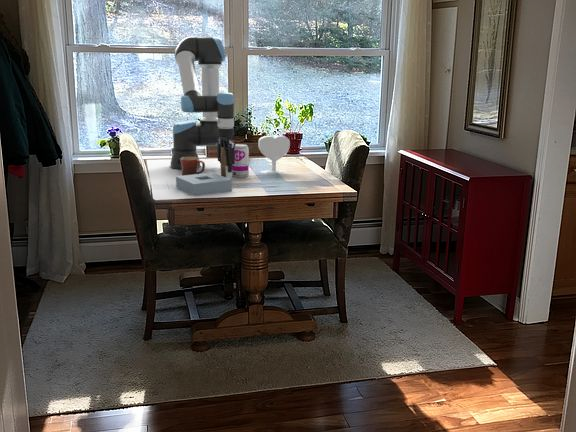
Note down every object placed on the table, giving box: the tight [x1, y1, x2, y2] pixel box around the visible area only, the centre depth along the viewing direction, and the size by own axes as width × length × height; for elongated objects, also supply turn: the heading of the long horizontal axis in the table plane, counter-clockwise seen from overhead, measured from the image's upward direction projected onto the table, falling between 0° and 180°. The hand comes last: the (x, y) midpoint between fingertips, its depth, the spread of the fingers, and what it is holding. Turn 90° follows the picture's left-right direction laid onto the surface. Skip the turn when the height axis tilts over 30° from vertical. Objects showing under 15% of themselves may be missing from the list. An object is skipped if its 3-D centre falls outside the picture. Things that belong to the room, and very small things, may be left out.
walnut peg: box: [220, 147, 229, 177], centre depth 283 cm, size 4×4×16 cm
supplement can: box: [232, 143, 250, 178], centre depth 296 cm, size 8×8×15 cm
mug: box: [180, 156, 206, 176], centre depth 285 cm, size 12×9×10 cm
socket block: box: [175, 172, 233, 197], centre depth 269 cm, size 18×18×5 cm
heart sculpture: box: [257, 135, 291, 174], centre depth 307 cm, size 16×5×18 cm, turn 104°
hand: (226, 178), depth 285 cm, fingers closed on walnut peg, 4 cm apart
